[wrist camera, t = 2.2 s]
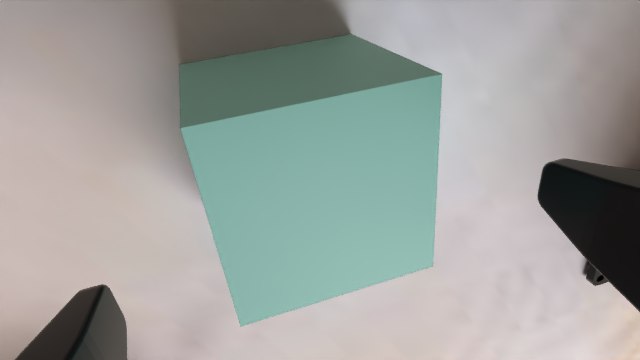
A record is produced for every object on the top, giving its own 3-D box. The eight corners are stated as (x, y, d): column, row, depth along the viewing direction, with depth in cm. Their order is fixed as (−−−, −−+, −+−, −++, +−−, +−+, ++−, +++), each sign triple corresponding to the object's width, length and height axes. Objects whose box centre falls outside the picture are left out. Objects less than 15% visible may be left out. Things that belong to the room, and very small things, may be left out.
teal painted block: (350, 33, 12) (442, 74, 8) (359, 177, 15) (433, 266, 10) (179, 63, 11) (180, 128, 7) (221, 213, 14) (240, 326, 9)
